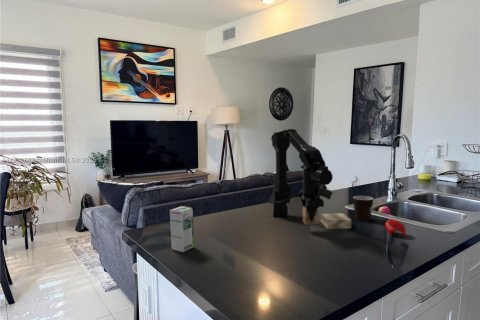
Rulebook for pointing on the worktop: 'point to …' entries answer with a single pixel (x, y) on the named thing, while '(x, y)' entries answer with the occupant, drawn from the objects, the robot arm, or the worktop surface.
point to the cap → (394, 227)
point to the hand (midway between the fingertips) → (310, 218)
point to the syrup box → (182, 228)
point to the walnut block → (306, 217)
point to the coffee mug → (363, 208)
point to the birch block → (336, 221)
